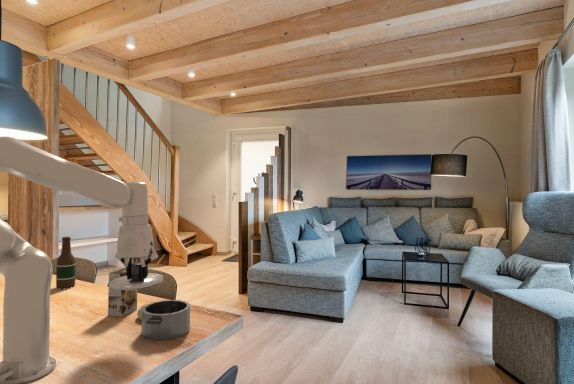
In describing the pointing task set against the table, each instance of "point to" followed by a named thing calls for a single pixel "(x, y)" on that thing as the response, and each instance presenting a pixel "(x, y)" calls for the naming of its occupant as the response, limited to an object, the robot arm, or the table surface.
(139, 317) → the sea urchin shell
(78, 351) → the table surface
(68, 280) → the beer bottle
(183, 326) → the pot
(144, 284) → the lid
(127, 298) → the coffee box
